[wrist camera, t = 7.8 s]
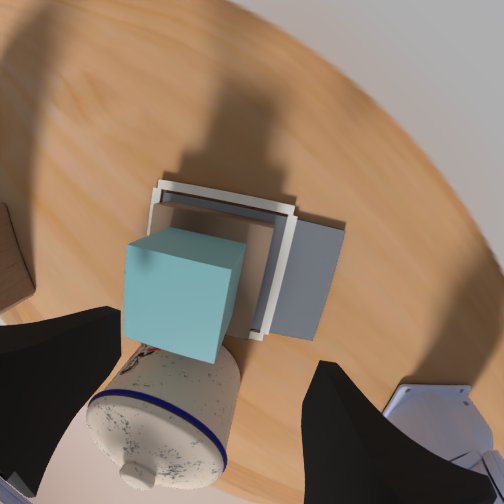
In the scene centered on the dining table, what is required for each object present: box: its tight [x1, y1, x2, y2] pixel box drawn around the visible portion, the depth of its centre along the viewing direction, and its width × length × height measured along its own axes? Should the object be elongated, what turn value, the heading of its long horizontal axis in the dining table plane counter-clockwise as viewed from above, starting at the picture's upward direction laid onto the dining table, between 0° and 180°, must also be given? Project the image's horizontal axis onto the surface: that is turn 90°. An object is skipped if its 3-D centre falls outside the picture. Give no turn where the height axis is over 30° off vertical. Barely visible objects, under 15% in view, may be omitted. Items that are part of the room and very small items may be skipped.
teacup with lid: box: [86, 343, 240, 491], centre depth 16 cm, size 12×9×12 cm
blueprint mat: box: [147, 179, 345, 341], centre depth 19 cm, size 13×10×1 cm
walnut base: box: [150, 201, 275, 340], centre depth 18 cm, size 7×7×2 cm
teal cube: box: [124, 227, 247, 364], centre depth 14 cm, size 4×4×5 cm
